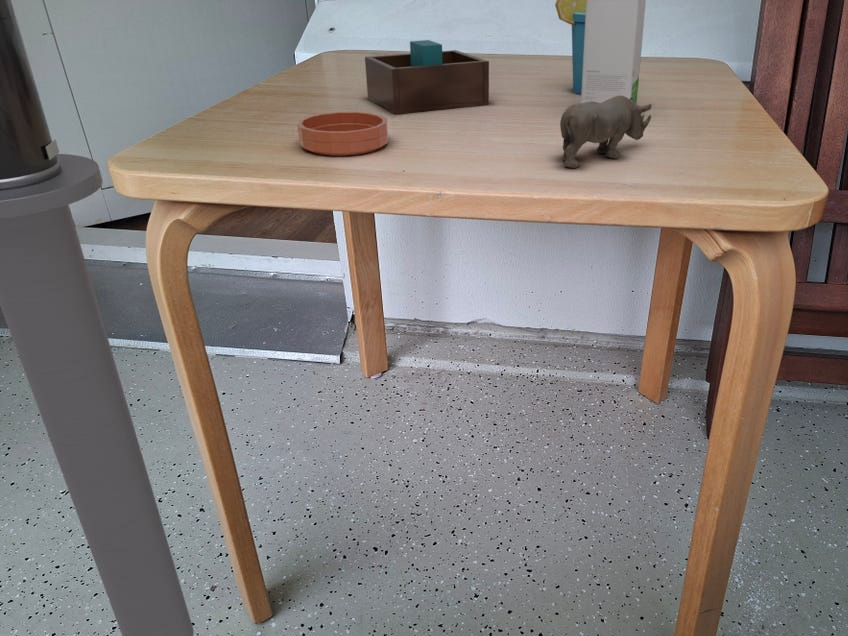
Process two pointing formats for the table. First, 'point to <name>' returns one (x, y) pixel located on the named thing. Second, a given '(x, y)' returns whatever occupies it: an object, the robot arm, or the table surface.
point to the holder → (427, 82)
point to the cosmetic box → (612, 49)
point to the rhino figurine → (601, 126)
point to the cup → (575, 35)
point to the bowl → (343, 133)
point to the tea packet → (425, 53)
